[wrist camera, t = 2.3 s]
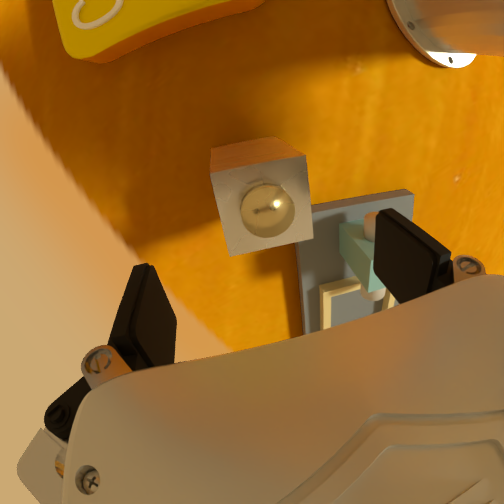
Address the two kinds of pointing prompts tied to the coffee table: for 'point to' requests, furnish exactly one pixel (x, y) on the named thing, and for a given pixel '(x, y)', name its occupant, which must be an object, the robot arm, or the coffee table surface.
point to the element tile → (132, 23)
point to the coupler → (261, 194)
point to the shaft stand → (344, 260)
